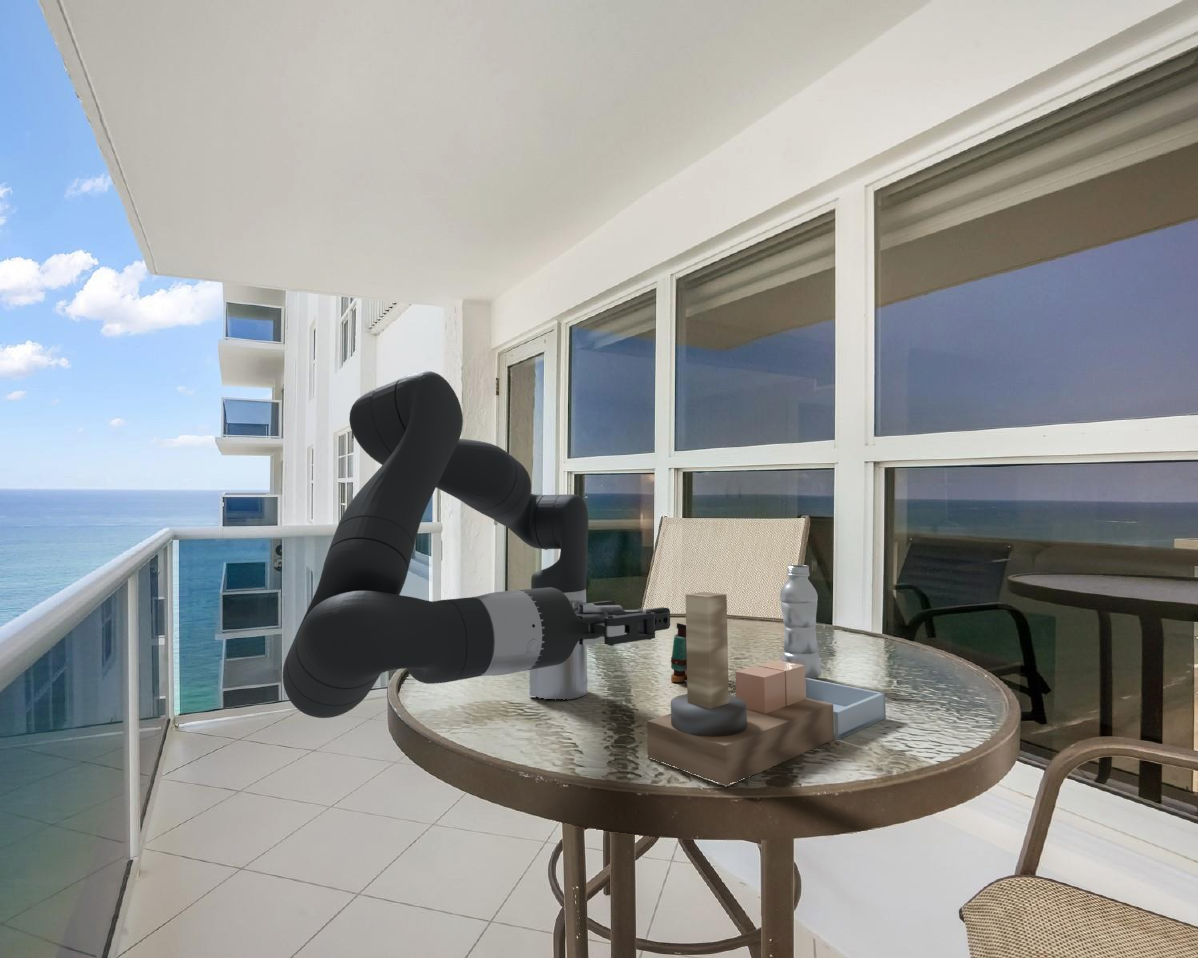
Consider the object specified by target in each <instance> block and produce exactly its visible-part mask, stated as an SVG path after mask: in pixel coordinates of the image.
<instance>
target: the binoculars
mask: <svg viewBox="0 0 1198 958" xmlns="http://www.w3.org/2000/svg"><path fill="white" fill-rule="evenodd" d="M676 629H677V633H676V634H674V637H673V644H672V653H671V658H670V668H671V669H672V670H673V673H672V674H671V676H670V681H671V682H673V683H684V682H685V681H686V682H687V647H686V624H683V623H679V622H676Z"/></svg>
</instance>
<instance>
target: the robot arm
mask: <svg viewBox="0 0 1198 958" xmlns="http://www.w3.org/2000/svg"><path fill="white" fill-rule="evenodd" d="M463 419H464V417H463V411H462V406H461V403H460V400H459V398H458V396H457V394H456V392H455V390H454V389H453V387H452V385H451V384H450V383H449V382H448V381H447V379H445V378H444V377H443V376H442V375H440V374H439V373H437V372H434V371H430V370H429V371H428V370H423V371H420V372H415V373H411V374H409V375H405V376H403V377H401V378H399V379H398V378H397V379H396V380H393V381H391V382H389V383H386V384H384V385H381V386H379V387H376V388H374V389H371V390H369V391H368V392H366V393H364V394H363V395H361V396H360V397H359V398H357V399H356V400H355V402H354V403H353V404H352V406H351V408H350V412H349V425H350V429H351V433H352V435H353V437H354V438H355V440H356V442H357V443H358V444H359V446H360V447H361V448H362V450H363V452H364V453H366V454H367V455H368V456H369V457H370V458H372V460H374V461H375V462H376V463H378V464H380V465H381V466H380V467H379V468H378V469H377V471H376V472H375V473H374V474H373V475H372V476H371V477H370V478H369V480H368V481H366V483H365V484H364V485H363V486H362V487H361V489H359V491H358V492H357V493H356V495H354V497H353V499H352V500H351V502H350V503H349V504H348V505H347V507H346V509H345V510H344V512H343V514H342V516H341V518H340V520H339V522H338V523H337V524H338V525H337V527H336V529H335V532H334V534H333V538H332V541H331V543H330V546H329V548H328V551H327V554H326V557H325V559H324V563H323V566H322V570H321V575H320V578H319V582H318V584H317V588H316V590H315V592H314V595H313V597H312V599H311V601H310V603H309V605H308V608H307V610H306V612H305V614H304V616H303V618H302V620H301V623H300V625H299V627H298V629H297V632H296V635H295V636H294V639H293V641H292V643H291V646H290V648H289V650H288V652H287V654H286V657H285V660H284V663H283V668H282V684H283V687H284V691H285V694H286V695H287V698H288V699H289V701H290V703H291V704H292V705H293V706H294V707H295V708H296V709H297V710H298V711H300V712H302V713H303V714H304V715H307V716H309V717H312V718H319V719H330V718H336V717H338V716H342V715H344V714H346V713H348V712H350V711H351V710H353V709H354V708H356V707H357V706H358V705H359V704H360V703H361V702H362V701H364V700H365V698H366V697H367V696H368V694H369V693H370V691H371V690H372V688H373V687H374V685H375V684H376V683H377V681H378V679H379V678H380V676H381V675H382V674H383V673H387V672H390V671H393V670H400V669H401V670H403V669H404V670H405V669H406V670H407V671H408V673H409V675H410V676H411V677H412V678H413V679H414V680H416V681H417V682H419V683H423V684H427V685H428V684H429V685H431V684H432V685H433V684H445V683H446V684H447V683H451V682H456V681H462V680H467V679H473V678H479V677H487V676H488V677H489V676H492V677H495V676H504V675H510V674H515V673H520V672H525V671H529V696H530V695H531V696H537V697H540V698H539V699H541V698H544V699H543V700H546V699H555V700H554V701H557V700H556V699H563V700H562V701H564V700H565V699H567V700H573V699H578V698H581V697H583V696H585V695H587V694H588V682H589V681H588V679H589V678H588V645H590V646H591V645H595V644H596V643H602V642H603V643H604V645H607V646H610V647H611V646H614V645H619V644H621V645H622V644H626V643H632V642H633V643H634V642H639V641H646V640H649V641H651V640H652V639H655V638H656V632H657V631H658V632H659V631H663V630H664V631H665V630H668V629H670V627H671V610H670V609H669V607H654V608H647V609H644V608H637V609H624V608H623V607H622V606H621V605H620V604H618V605H617V604H616V602H615V601H614V600H604V601H596V602H593V601H592V602H587V584H586V583H587V572H588V548H589V546H588V545H589V543H588V542H589V541H588V540H589V512H588V507H587V504H586V501H585V500H584V499H583V497H582V496H581V495H578V494H532V480H531V477H530V474H529V472H528V470H527V469H526V467H525V466H524V465H523V464H522V463H521V462H520V461H519V460H518V459H516V458H515V457H514V456H513V455H511V454H510V453H508V451H506V450H504V449H503V448H501V447H500V446H497V445H495V444H492V443H489V442H486V441H481V440H476V439H475V440H474V439H466V438H461V435H462V432H463V423H464V420H463ZM436 489H438V490H441V491H442V492H444V493H446V494H448V495H449V496H452V497H454V498H455V499H458V500H459V501H461V503H463V504H465V505H466V506H468V507H470V508H471V509H474V511H477V512H478V513H480V514H482V515H485V516H486V517H488V518H491V519H492V520H494V521H495V522H497V523H499V524H501V525H503V526H505V527H506V528H507V529H509V531H511V532H512V533H514V535H516V536H517V538H519V539H520V540H522V541H523V542H524V543H525V544H526V545H528V546H530V547H531V548H534V549H538V550H539V549H540V550H560V553H559V558H558V559H557V561H556V562H555V563H554V564H552V565H550V566H549V567H545V568H542V569H540V570H538V571H535V572H534V573H533V574H532V575H531V580H530V588H528V589H516V590H505V591H504V590H503V591H495V592H494V591H492V592H489V593H485V594H481V595H477V596H472V597H461V598H449V599H439V600H427V599H422V598H418V597H413V596H407V595H401V593H402V590H403V588H404V586H405V584H406V583H405V582H406V580H407V576H408V573H409V569H410V564H411V559H412V557H413V556H412V555H413V553H414V552H413V551H414V547H415V544H416V543H415V542H416V540H417V536H418V533H419V529H420V525H421V522H422V520H423V517H424V514H425V512H426V510H427V507H428V506H429V503H430V500H431V498H432V497H433V495H434V492H435V490H436ZM565 701H566V700H565Z"/></svg>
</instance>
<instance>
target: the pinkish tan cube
mask: <svg viewBox="0 0 1198 958" xmlns="http://www.w3.org/2000/svg"><path fill="white" fill-rule="evenodd" d="M734 673H735V674H734V675H735V677H734V678H735V694H736V697H737V698H740V699H742V700H743V701H745V702H746V705H747V709H749V710H753V711H757V712H761V713H765V714H766V713H768V712H771V711H774V710H777V709H780V708H782V707H785V706H786V702H785V671H780V670H775V669H770V668H765V667H760V666H757V665H753V666H750V667H746V668H743V669H739V670H735V672H734Z"/></svg>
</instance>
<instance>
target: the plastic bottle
mask: <svg viewBox="0 0 1198 958" xmlns="http://www.w3.org/2000/svg"><path fill="white" fill-rule="evenodd" d="M786 568H787V570H786V577H788V578H787V581H786V582H785V583H784V585H783V586H782V587H781V589H780V592H779V601H780V607H781V613H782V620H783V625H784V627H783V629H784V631H783V632H784V635H783V639H784V640H783V652H782V656H781V657H782V659H781V661H784V662H789V663H795V664H800V665H805V678H810V679H817V678H818V677H819V676H820V674H821V670H822V663H821V657H820V656H821V655H820V653H819V648H818V647H819V646H818V640H817V639H818V638H817V628H816V626H817V611H818V597H819V596H818V592H817V590H816V589H815V587H814V585H813V584H812V583H811V582H810V580H809V577H810V574H811V573H810V567H809V565H804V564H794V565H793V564H790V565H787V567H786Z"/></svg>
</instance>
